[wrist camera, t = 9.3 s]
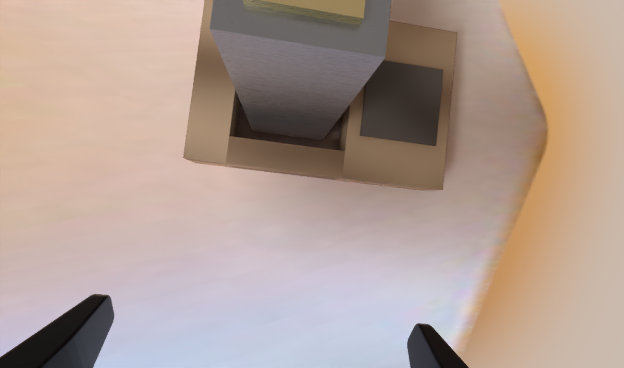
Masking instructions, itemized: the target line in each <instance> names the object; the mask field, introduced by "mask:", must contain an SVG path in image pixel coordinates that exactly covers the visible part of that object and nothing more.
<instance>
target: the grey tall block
mask: <svg viewBox="0 0 624 368" xmlns="http://www.w3.org/2000/svg"><path fill="white" fill-rule="evenodd" d="M390 7H391V0H213V6H212V14H211V21H210V28H209V29H210V31H211V33H212V36H213V38H214V41H215V43H216V45H217V48H218V50H219V52H220V55H221V57H222V59H223V62H224V64H225V67H226V69H227V71H228V74H229V76H230V78H231V81H232V83H233V85H234V88H235V90H236V93H237V95H238V97H239V100H240V102H241V104H242V107H243V109H244V111H245V114H246V116H247V119H248V121H249V123H250V126H251V128H252V130H253V131H257V132H265V133H272V134H280V135H287V136H295V137H302V138H310V139H317V140H323V139H324V138H325V136H326V135H327V134H328V132H329V131H330V130H331V128H332V127H333V126H334V124H335V123H336V122H337V121H338V119H339V118H340V117H341V115H342V114H343V113H344V111H345V110H346V109H347V107H348V106H349V105H350V103H351V102H352V101H353V99H354V98H355V97H356V95H357V94H358V93H359V91H360V90H361V89H362V87H363V86H364V85H365V84H366V82H367V81H368V80H369V78H370V77H371V76H372V74H373V73H374V72H375V70H376V69H377V68H378V66H379V65H380V64H381V62H382V61H383V60H384V58H385V55H386V45H387V36H388V26H389V17H390Z"/></svg>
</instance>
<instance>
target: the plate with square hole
mask: <svg viewBox="0 0 624 368" xmlns="http://www.w3.org/2000/svg"><path fill="white" fill-rule="evenodd" d="M212 6H213V0H205V2H204V9H203V17H202V24H201V31H200V39H199V46H198V53H197V61H196V68H195V76H194V83H193V90H192V98H191V105H190V112H189V120H188V127H187V134H186V142H185V149H184V156H183V158H185V159H187V160H190V161H192V162H195V163H201V164H209V165H217V166H225V167H234V168H242V169H250V170H258V171H267V172H275V173H283V174H291V175H299V176H308V177H316V178H324V179H332V180H341V181H349V182H357V183H365V184H374V185H382V186H390V187H398V188H407V189H415V190H443V181H444V170H445V159H446V149H447V138H448V127H449V116H450V105H451V94H452V84H453V73H454V62H455V51H456V40H457V32H451V31H445V30H440V29H434V28H428V27H422V26H417V25H411V24H405V23H400V22H394V21H389V26H388V36H387V45H386V55H385V58H384V60H383V61H382V62H381V64H380V65H379V66H378V68H377V69H376V70H375V72H374V73H373V74H372V76H371V77H370V78H369V80H368V81H367V82H366V84H365V85H364V86H363V87H362V89H361V90H360V91H359V93H358V94H357V95H356V97H355V98H354V99H353V101H352V102H351V103H350V105H349V106H348V107H347V109H346V110H345V111H344V113H343V114H342V117H341V126H340V135H339V144H338V150H332V149H324V148H316V147H309V146H301V145H293V144H286V143H278V142H270V141H263V140H255V139H248V138H240V137H237V130H238V122H239V114H240V107H241V102H240V100H239V97H238V95H237V93H236V90H235V88H234V85H233V83H232V81H231V78H230V76H229V74H228V71H227V69H226V67H225V64H224V62H223V59H222V57H221V55H220V52H219V50H218V48H217V45H216V43H215V41H214V38H213V36H212V33H211V31H210V29H209V28H210V21H211V14H212Z"/></svg>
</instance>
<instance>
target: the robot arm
mask: <svg viewBox="0 0 624 368" xmlns="http://www.w3.org/2000/svg"><path fill="white" fill-rule="evenodd" d="M113 320H114V311H113V306H112V301H111V297H110V296H109V295H102V294H94V295H91V296H89V297H88V298H86V299H85V300H83V301H82V302H81V303H79V304H78V305H76V306H75V307H73V308H72V309H70V310H69V311H67V312H66V313H64V314H63V315H62V316H60V317H59V318H57V319H56V320H54V321H53V322H51V323H50V324H48V325H47V326H45V327H44V328H42V329H41V330H40V331H38V332H37V333H35V334H34V335H32V336H31V337H29V338H28V339H26V340H25V341H23V342H22V343H20V344H19V345H18V346H16V347H15V348H13V349H12V350H10V351H9V352H7V353H6V354H4V355H3V356H1V357H0V368H93V366H94V364H95V362H96V360H97V357H98V355H99V353H100V350H101V348H102V346H103V344H104V341H105V339H106V337H107V334H108V332H109V330H110V328H111V325H112V323H113ZM407 348H408V354H409V361H410V367H411V368H469V367H468V366H467V365H466V364H465V363H464V362H463V361H462V360H461V358H460V357H459V356H458V355H457V354H456V353H455V352H454V351H453V350H452V348H451V347H450V346H449V345H448V344H447V343H446V342H445V341H444V339H443V338H442V337H441V336H440V335H439V334H438V333H437V332H436V331H435V329H434V328H433V327H432V326H430V325H428V324H420V323H418V324H416V325H415V326H414V328H413V330H412V332H411V334H410V336H409V338H408V342H407Z"/></svg>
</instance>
